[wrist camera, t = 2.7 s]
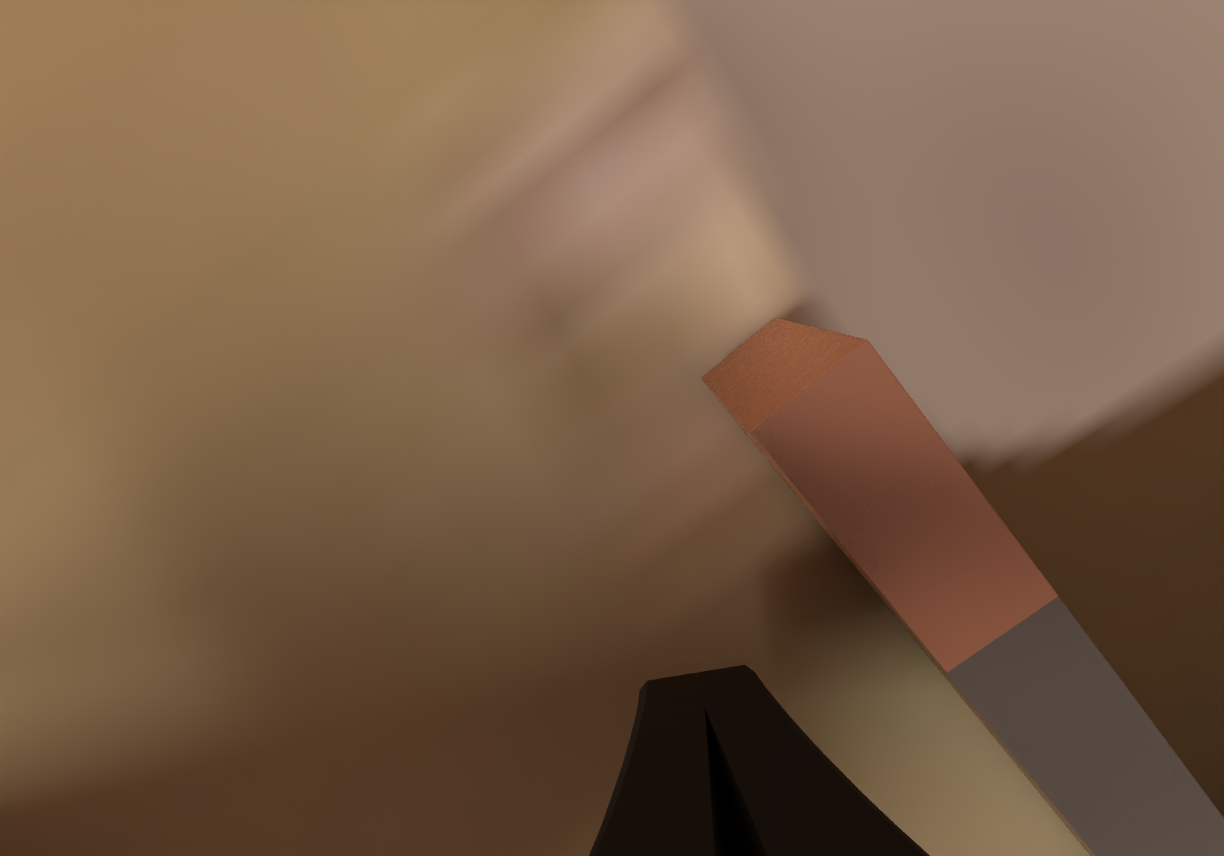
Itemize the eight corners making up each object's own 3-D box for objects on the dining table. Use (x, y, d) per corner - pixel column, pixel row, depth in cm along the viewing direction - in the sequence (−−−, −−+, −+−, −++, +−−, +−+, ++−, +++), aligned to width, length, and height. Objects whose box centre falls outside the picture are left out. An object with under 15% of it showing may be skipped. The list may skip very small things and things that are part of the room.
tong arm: (1369, 1016, 11) (1646, 1285, 8) (1230, 1091, 11) (1446, 1373, 8) (820, 281, 8) (939, 283, 5) (658, 411, 8) (686, 482, 6)
